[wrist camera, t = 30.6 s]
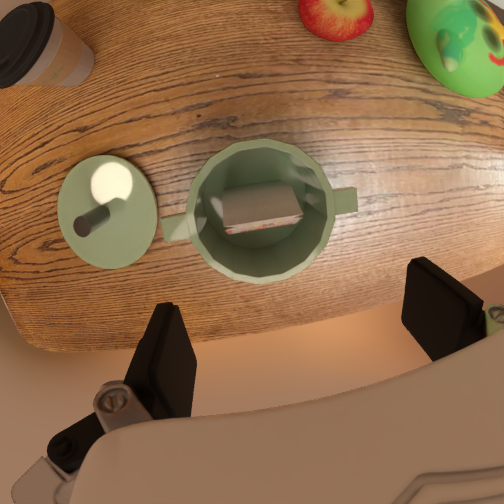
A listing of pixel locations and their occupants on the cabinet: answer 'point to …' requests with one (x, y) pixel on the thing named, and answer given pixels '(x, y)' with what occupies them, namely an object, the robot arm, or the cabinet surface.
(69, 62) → the coffee cup
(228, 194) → the tea bag
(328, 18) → the apple
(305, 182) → the pot
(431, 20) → the toy bird
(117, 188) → the lid
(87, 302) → the cabinet surface
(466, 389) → the robot arm
